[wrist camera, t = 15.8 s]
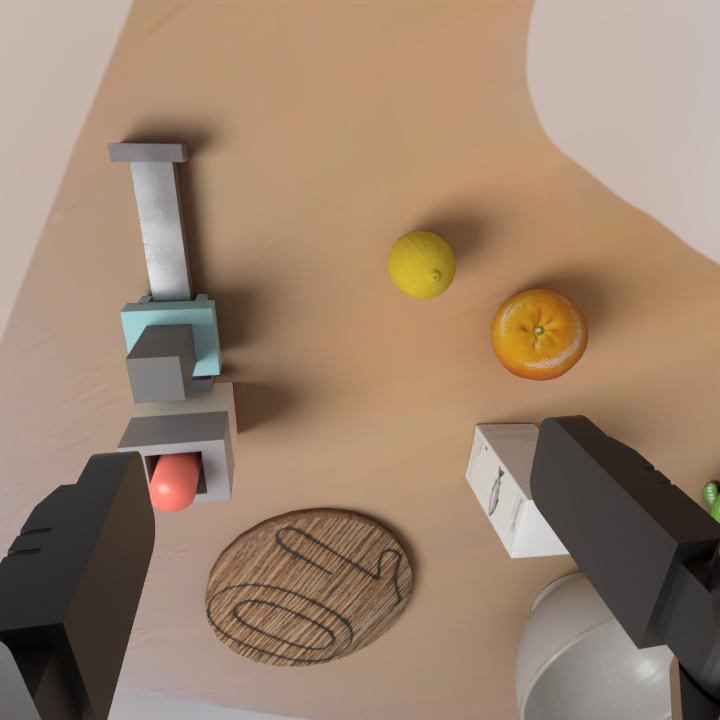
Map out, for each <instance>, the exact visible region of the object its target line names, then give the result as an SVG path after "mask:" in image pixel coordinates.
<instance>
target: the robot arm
mask: <svg viewBox="0 0 720 720" xmlns="http://www.w3.org/2000/svg"><path fill="white" fill-rule="evenodd" d="M530 491H531V495H532V499H533V501H534V504H535V506H536V507H537V509H538V510H539V512H540V513H541V515H542V516H543V517H544V519H545V520H546V522H547V523H548V524H549V526H550V527H551V529H552V530H553V531H554V533H555V534H556V536H557V537H558V538H559V540H560V541H561V542H562V544H563V545H564V547H565V548H566V549H567V551H568V552H569V554H570V555H571V556H572V558H573V559H574V561H575V562H576V563H577V565H578V566H579V568H580V569H581V570H582V572H583V573H584V575H585V576H586V577H587V579H588V580H589V582H590V583H591V584H592V586H593V587H594V588H595V590H596V591H597V593H598V594H599V595H600V597H601V598H602V600H603V601H604V602H605V604H606V605H607V607H608V608H609V609H610V611H611V612H612V614H613V615H614V616H615V618H616V619H617V621H618V622H619V623H620V625H621V626H622V628H623V629H624V630H625V632H626V633H627V635H628V636H629V637H630V639H631V640H632V641H633V643H634V644H635V646H636V647H637V648H638V649H644V648H650V647H656V646H662V645H667V646H668V647H669V649H670V650H671V651H672V653H673V654H674V656H673V659H672V661H671V664H670V669H669V675H670V695H671V715H672V720H720V523H719V522H718V521H716V520H715V519H714V518H713V517H712V516H711V515H709V514H708V513H707V512H706V511H705V510H704V509H702V508H701V507H700V506H699V505H698V504H697V503H696V502H694V501H693V500H692V499H691V498H690V497H689V496H687V495H686V494H685V493H684V492H683V491H682V490H681V489H679V488H678V487H677V486H676V485H671V483H670V480H669V479H668V478H667V477H666V476H664V475H663V474H662V473H661V472H660V471H659V470H655V469H654V466H653V465H652V464H651V463H649V462H648V461H647V460H646V459H645V458H644V457H642V456H641V455H640V454H639V453H638V452H637V451H635V450H634V449H632V448H630V447H628V446H626V445H624V444H623V443H621V442H619V441H617V440H615V439H613V438H611V437H608V436H607V435H606V434H604V433H603V432H602V431H601V430H600V429H599V428H598V427H597V426H595V425H594V424H593V423H592V422H591V421H590V420H589V419H588V418H586V417H585V416H582V415H576V416H564V417H552V418H546V419H544V420H543V422H542V423H541V426H540V429H539V434H538V439H537V444H536V449H535V455H534V460H533V465H532V470H531V475H530ZM20 532H21V533H20V536H17V537H16V539H15V540H14V542H13V544H12V545H11V547H10V549H9V550H8V556H7V557H4V558H3V560H2V562H1V563H0V720H107V718H108V715H109V711H110V707H111V704H112V700H113V696H114V693H115V689H116V685H117V682H118V678H119V674H120V671H121V667H122V663H123V659H124V656H125V652H126V648H127V645H128V641H129V637H130V634H131V630H132V626H133V622H134V619H135V615H136V611H137V608H138V604H139V600H140V597H141V593H142V589H143V586H144V582H145V578H146V574H147V571H148V567H149V563H150V560H151V556H152V552H153V548H154V541H155V519H154V512H153V507H152V503H151V498H150V493H149V488H148V483H147V478H146V473H145V469H144V464H143V459H142V456H141V454H140V453H139V452H138V451H128V452H116V453H104V454H94V455H92V456H91V458H90V459H89V461H88V463H87V465H86V466H85V468H84V470H83V472H82V474H81V476H80V477H79V479H78V481H77V483H76V484H70V485H60V486H59V487H58V488H57V489H56V490H54V491H53V492H52V493H51V494H50V495H49V496H47V497H46V498H45V499H44V500H43V501H41V502H40V503H39V504H38V505H37V506H36V507H35V508H34V510H33V511H32V513H31V514H30V516H29V518H28V519H27V521H26V523H25V524H24V526H23V527H22V529H21V531H20Z"/></svg>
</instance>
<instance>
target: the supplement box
mask: <svg viewBox="0 0 720 720" xmlns="http://www.w3.org/2000/svg"><path fill="white" fill-rule="evenodd" d="M538 434H539V429H538V428H537V427H536V426H535V425H534V424H481V425H476V430H475V436H474V441H473V446H472V451H471V455H470V459H469V463H468V467H467V471H466V475H465V477H466V479H467V481H468V482H469V484H470V486H471V488H472V490H473V491H474V493H475V495H476V497H477V499H478V500H479V502H480V504H481V506H482V507H483V509H484V511H485V513H486V514H487V516H488V518H489V520H490V522H491V523H492V525H493V527H494V529H495V530H496V532H497V534H498V535H499V537H500V539H501V541H502V543H503V544H504V546H505V548H506V549H507V551H508V553H509V555H510V557H511V558H523V557H537V556H550V555H564V554H569V552H568V551H567V549H566V548H565V547H564V545H563V544H562V542H561V541H560V540H559V538H558V537H557V536H556V534H555V533H554V531H553V530H552V529H551V527H550V526H549V524H548V523H547V522H546V520H545V519H544V517H543V516H542V515H541V513H540V512H539V510H538V509H537V507H536V506H535V504H534V501H533V499H532V495H531V491H530V475H531V470H532V465H533V460H534V455H535V449H536V444H537V439H538Z"/></svg>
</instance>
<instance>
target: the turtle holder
mask: <svg viewBox="0 0 720 720" xmlns="http://www.w3.org/2000/svg"><path fill="white" fill-rule="evenodd" d="M703 496H704V499H705V501H706V502H707V503H708V504H709V505H710V506H711V512H710V515H711V516H712V517H713V518H714V519H715V520H716V521H718V522H719V523H720V493H719V492H718V488H717V485H716V484H715V483H714V482H710V483H708V484H707V485H706V486H705V487H704V489H703Z"/></svg>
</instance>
